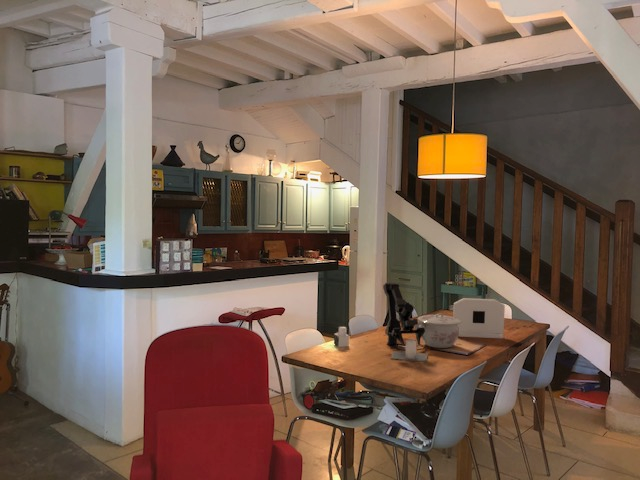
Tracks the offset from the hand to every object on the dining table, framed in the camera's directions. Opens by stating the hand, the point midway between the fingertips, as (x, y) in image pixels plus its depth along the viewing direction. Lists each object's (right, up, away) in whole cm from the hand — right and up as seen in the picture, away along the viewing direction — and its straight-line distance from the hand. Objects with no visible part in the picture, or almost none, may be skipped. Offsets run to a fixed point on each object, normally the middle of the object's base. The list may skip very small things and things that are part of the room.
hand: (411, 344), depth 299 cm
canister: (0, -8, +1) cm, 8 cm away
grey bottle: (-39, -6, +28) cm, 48 cm away
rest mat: (0, -8, +5) cm, 10 cm away
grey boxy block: (+56, -6, +69) cm, 89 cm away
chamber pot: (+22, -7, +32) cm, 40 cm away
